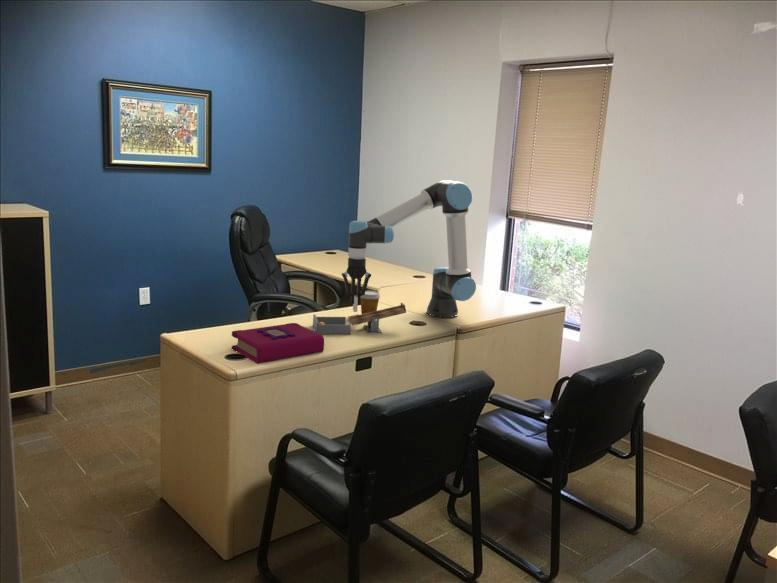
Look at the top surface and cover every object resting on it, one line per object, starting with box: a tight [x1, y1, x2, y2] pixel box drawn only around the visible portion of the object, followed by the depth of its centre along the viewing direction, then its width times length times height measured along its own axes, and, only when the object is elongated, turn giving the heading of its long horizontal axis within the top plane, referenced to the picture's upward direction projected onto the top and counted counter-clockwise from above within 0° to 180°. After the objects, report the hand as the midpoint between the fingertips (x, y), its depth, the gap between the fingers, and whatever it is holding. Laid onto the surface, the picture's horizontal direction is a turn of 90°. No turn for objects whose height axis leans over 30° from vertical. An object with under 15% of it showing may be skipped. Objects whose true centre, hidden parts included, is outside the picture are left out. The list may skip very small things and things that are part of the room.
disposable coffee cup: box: [360, 290, 381, 315], centre depth 297 cm, size 10×10×12 cm
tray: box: [312, 314, 352, 335], centre depth 274 cm, size 14×14×5 cm
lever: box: [347, 302, 407, 326], centre depth 280 cm, size 24×11×3 cm, turn 102°
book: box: [231, 322, 325, 364], centre depth 242 cm, size 21×28×8 cm
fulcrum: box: [363, 312, 383, 334], centre depth 278 cm, size 6×11×7 cm, turn 13°
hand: (355, 311), depth 281 cm, fingers closed
